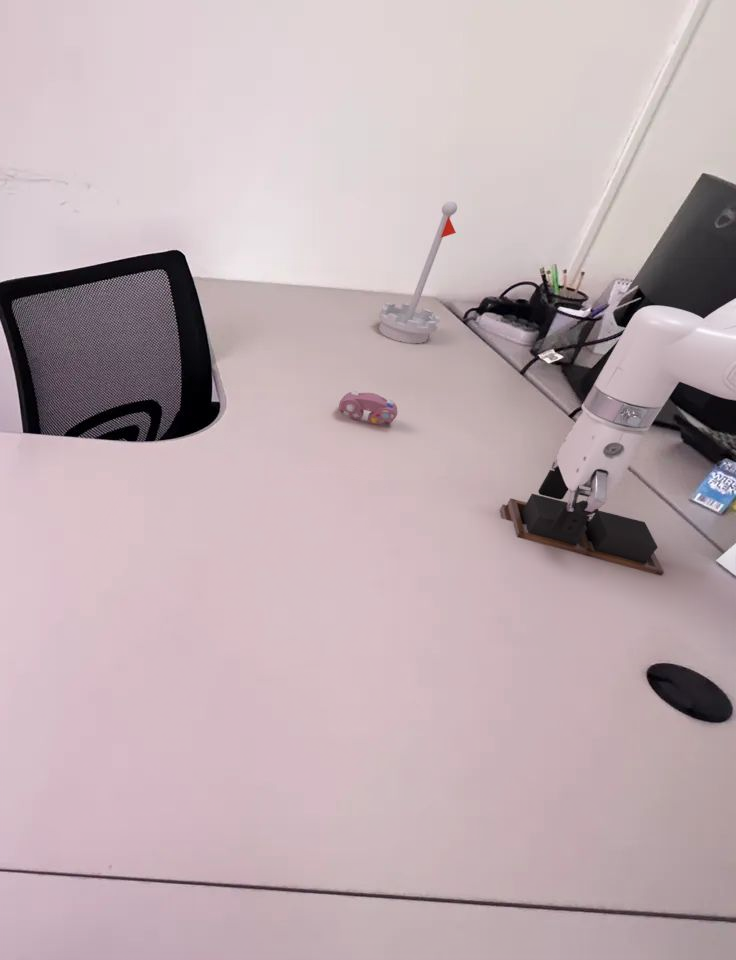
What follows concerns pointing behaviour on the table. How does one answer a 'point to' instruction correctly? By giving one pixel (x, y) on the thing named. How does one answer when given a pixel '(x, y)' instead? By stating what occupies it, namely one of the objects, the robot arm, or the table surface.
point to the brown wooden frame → (513, 514)
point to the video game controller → (368, 407)
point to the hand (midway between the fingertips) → (555, 514)
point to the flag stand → (417, 297)
